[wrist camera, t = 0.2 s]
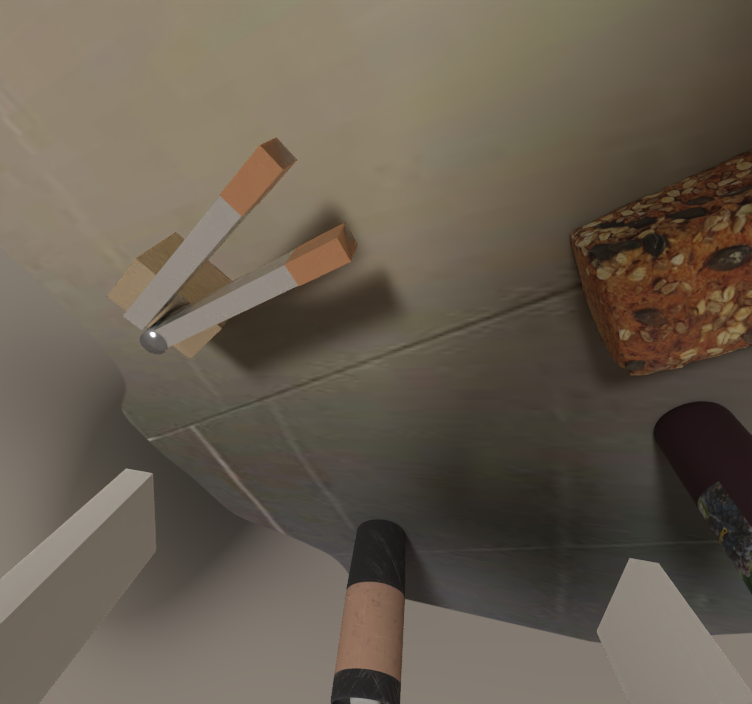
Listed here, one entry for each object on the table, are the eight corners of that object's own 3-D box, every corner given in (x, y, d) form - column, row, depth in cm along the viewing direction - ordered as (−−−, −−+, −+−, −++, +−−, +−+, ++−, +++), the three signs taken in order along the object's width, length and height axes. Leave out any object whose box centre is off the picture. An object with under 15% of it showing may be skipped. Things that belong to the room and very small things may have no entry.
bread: (588, 326, 37) (634, 399, 29) (558, 221, 32) (604, 274, 24) (849, 238, 30) (1003, 300, 22) (863, 90, 25) (1070, 100, 17)
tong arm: (344, 219, 27) (335, 236, 24) (358, 246, 28) (351, 264, 25) (157, 316, 33) (134, 338, 30) (174, 335, 34) (153, 357, 31)
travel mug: (384, 512, 56) (368, 693, 40) (417, 538, 59) (414, 717, 43) (344, 528, 59) (314, 701, 43) (377, 552, 62) (361, 723, 46)
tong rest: (278, 100, 29) (228, 111, 21) (355, 189, 32) (335, 225, 24) (148, 267, 38) (81, 315, 30) (218, 323, 40) (172, 380, 33)
